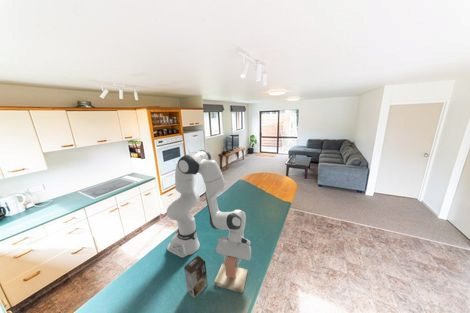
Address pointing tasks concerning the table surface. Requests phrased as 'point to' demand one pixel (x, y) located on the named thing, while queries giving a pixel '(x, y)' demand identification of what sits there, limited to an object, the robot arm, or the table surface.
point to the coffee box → (196, 276)
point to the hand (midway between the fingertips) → (230, 266)
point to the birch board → (231, 279)
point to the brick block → (231, 266)
